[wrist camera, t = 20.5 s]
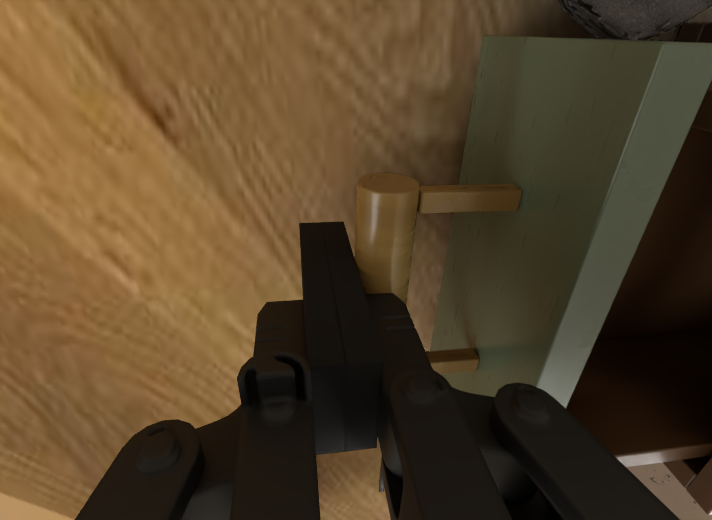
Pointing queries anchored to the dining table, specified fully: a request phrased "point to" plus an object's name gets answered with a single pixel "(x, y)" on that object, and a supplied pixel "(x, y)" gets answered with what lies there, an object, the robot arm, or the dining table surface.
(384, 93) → the dining table surface
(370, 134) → the dining table surface
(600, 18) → the serving tray
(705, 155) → the drawer
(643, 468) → the teacup with lid
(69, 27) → the dining table surface
